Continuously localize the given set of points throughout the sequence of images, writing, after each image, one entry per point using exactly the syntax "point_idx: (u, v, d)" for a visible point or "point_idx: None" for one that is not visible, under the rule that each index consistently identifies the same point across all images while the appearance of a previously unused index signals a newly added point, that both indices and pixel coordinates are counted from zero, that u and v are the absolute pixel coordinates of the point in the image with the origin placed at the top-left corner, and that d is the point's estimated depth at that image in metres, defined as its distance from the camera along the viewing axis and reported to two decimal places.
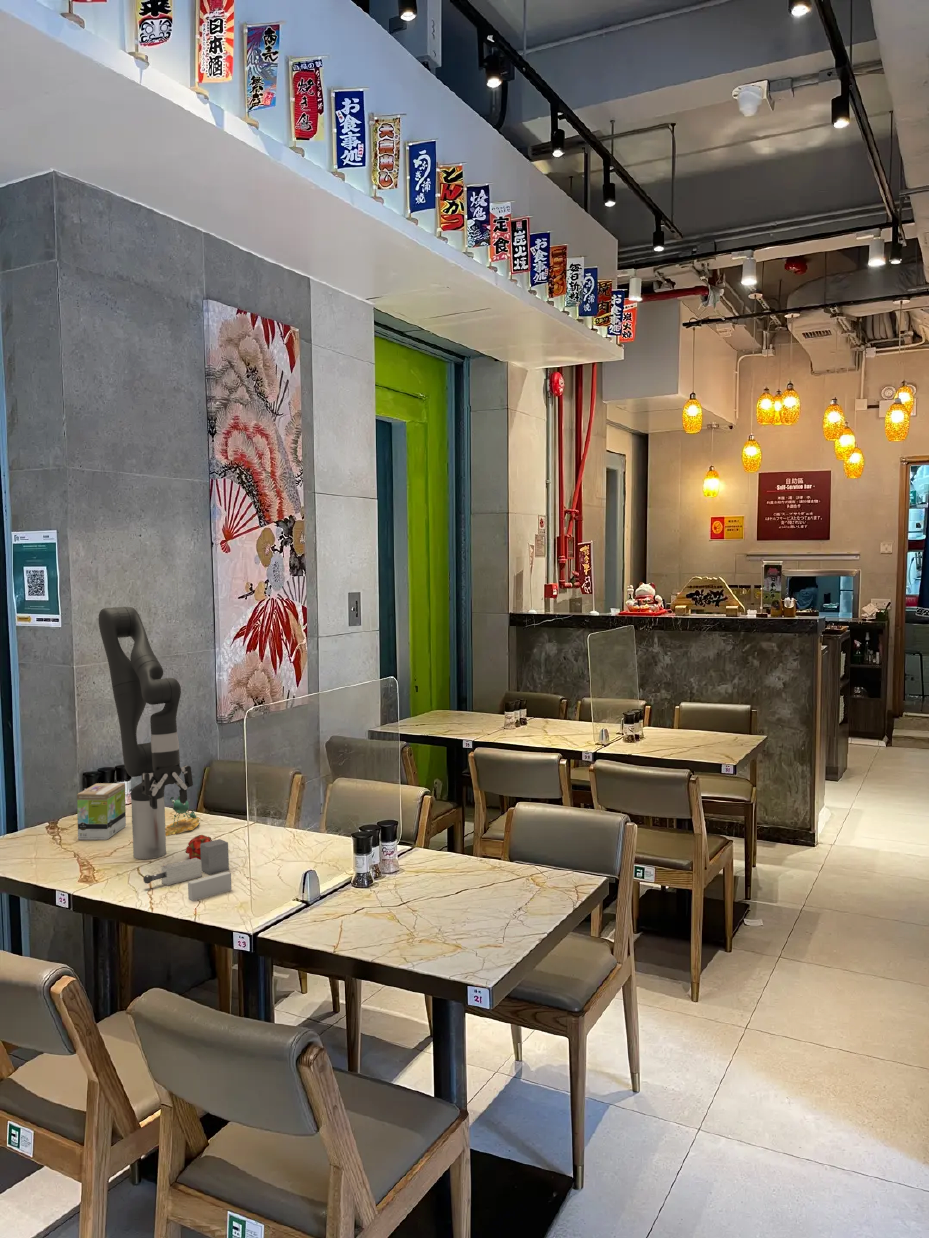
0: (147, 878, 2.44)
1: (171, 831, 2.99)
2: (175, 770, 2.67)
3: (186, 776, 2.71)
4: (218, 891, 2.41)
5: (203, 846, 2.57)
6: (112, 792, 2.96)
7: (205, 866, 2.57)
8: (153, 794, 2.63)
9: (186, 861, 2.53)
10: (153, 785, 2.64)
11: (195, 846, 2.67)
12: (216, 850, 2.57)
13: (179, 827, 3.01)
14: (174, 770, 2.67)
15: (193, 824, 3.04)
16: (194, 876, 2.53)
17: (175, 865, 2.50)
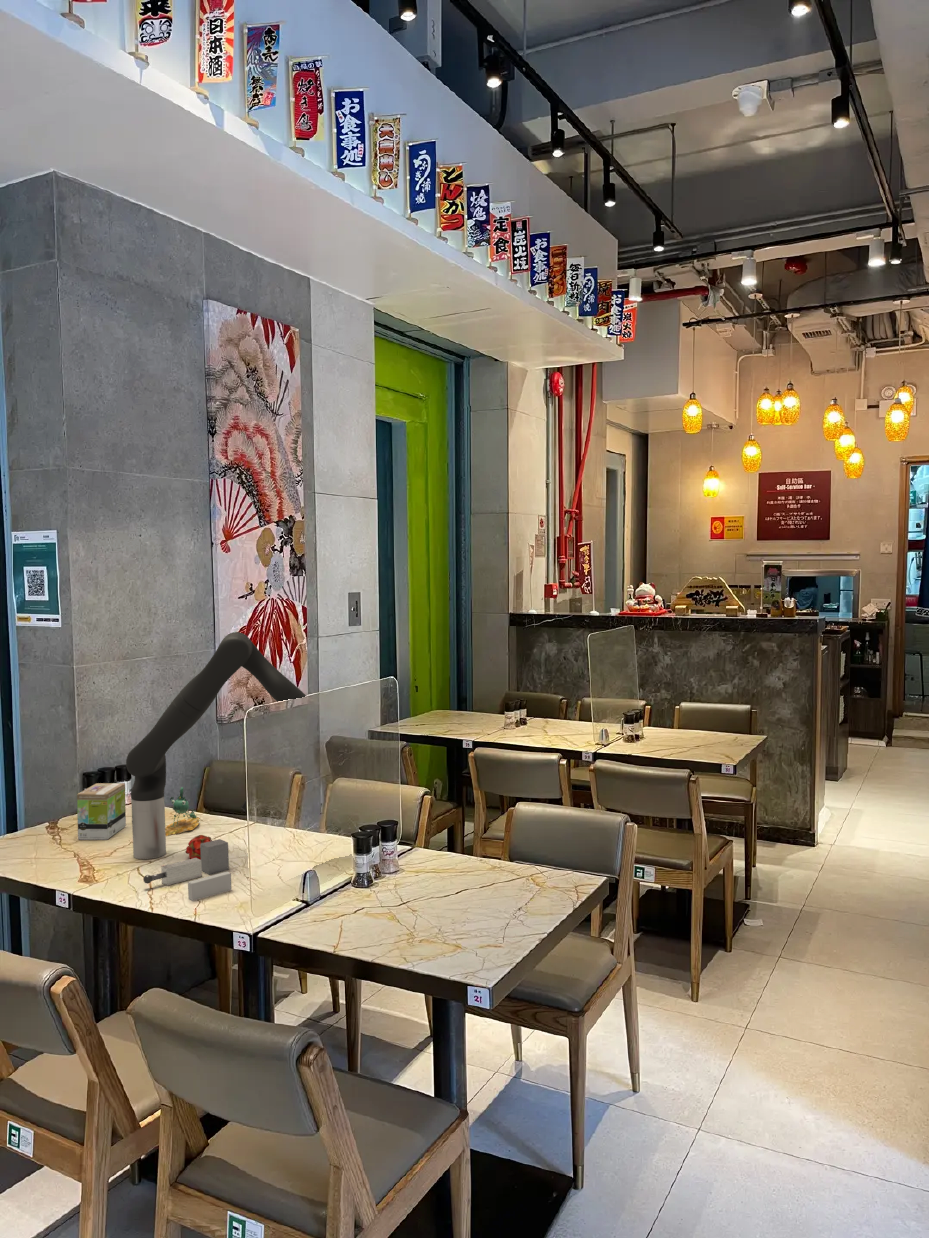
0: (147, 878, 2.44)
1: (171, 831, 2.99)
2: None
3: None
4: (218, 891, 2.41)
5: (203, 846, 2.57)
6: (112, 792, 2.96)
7: (205, 866, 2.57)
8: None
9: (186, 861, 2.53)
10: None
11: (195, 846, 2.67)
12: (216, 850, 2.57)
13: (179, 827, 3.01)
14: None
15: (193, 824, 3.04)
16: (194, 876, 2.53)
17: (175, 865, 2.50)
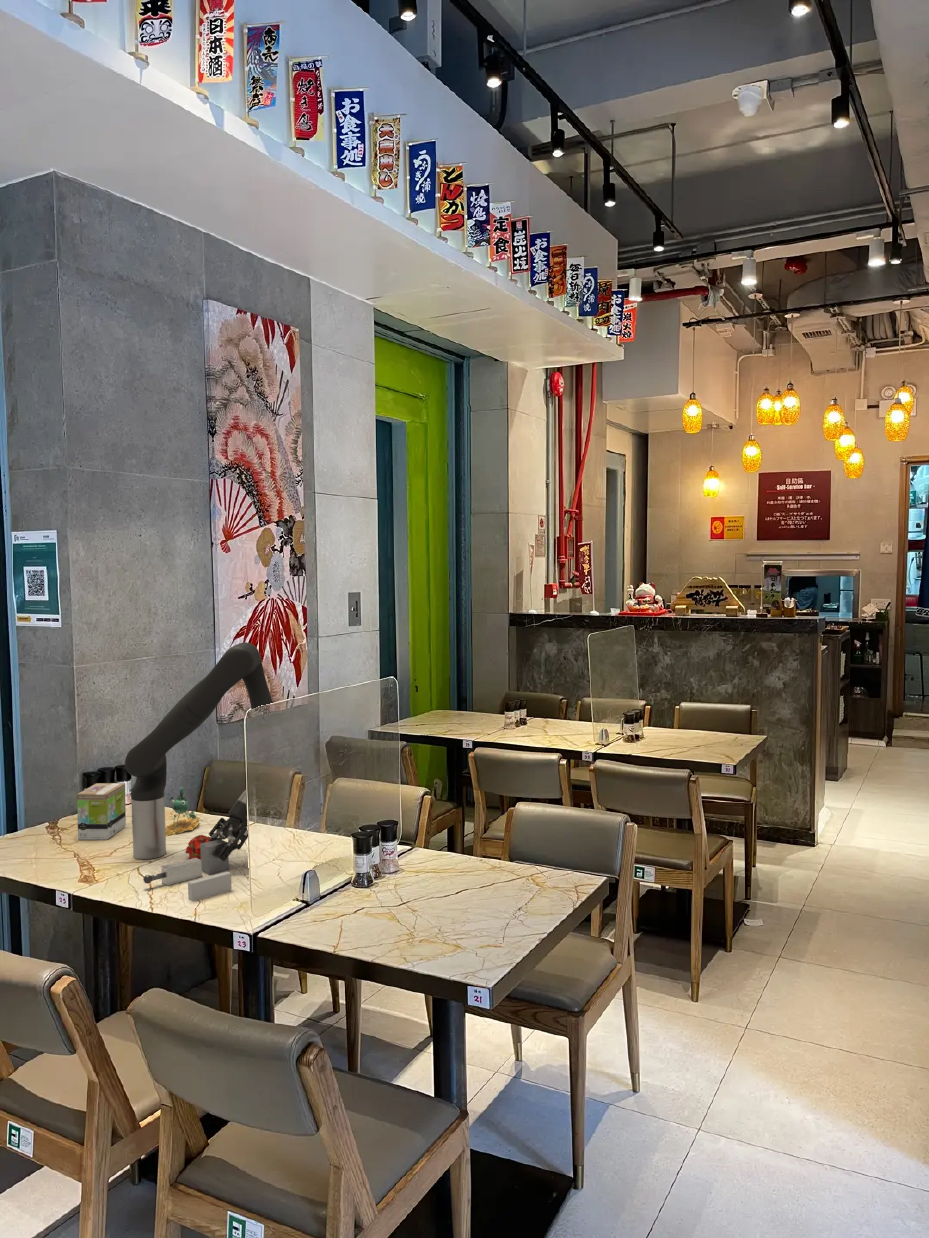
0: (147, 878, 2.44)
1: (171, 831, 2.99)
2: None
3: None
4: (218, 891, 2.41)
5: (203, 846, 2.57)
6: (112, 792, 2.96)
7: (205, 866, 2.57)
8: None
9: (186, 861, 2.53)
10: (233, 838, 2.58)
11: (195, 846, 2.67)
12: (216, 850, 2.57)
13: (179, 827, 3.01)
14: None
15: (193, 824, 3.04)
16: (194, 876, 2.53)
17: (175, 865, 2.50)
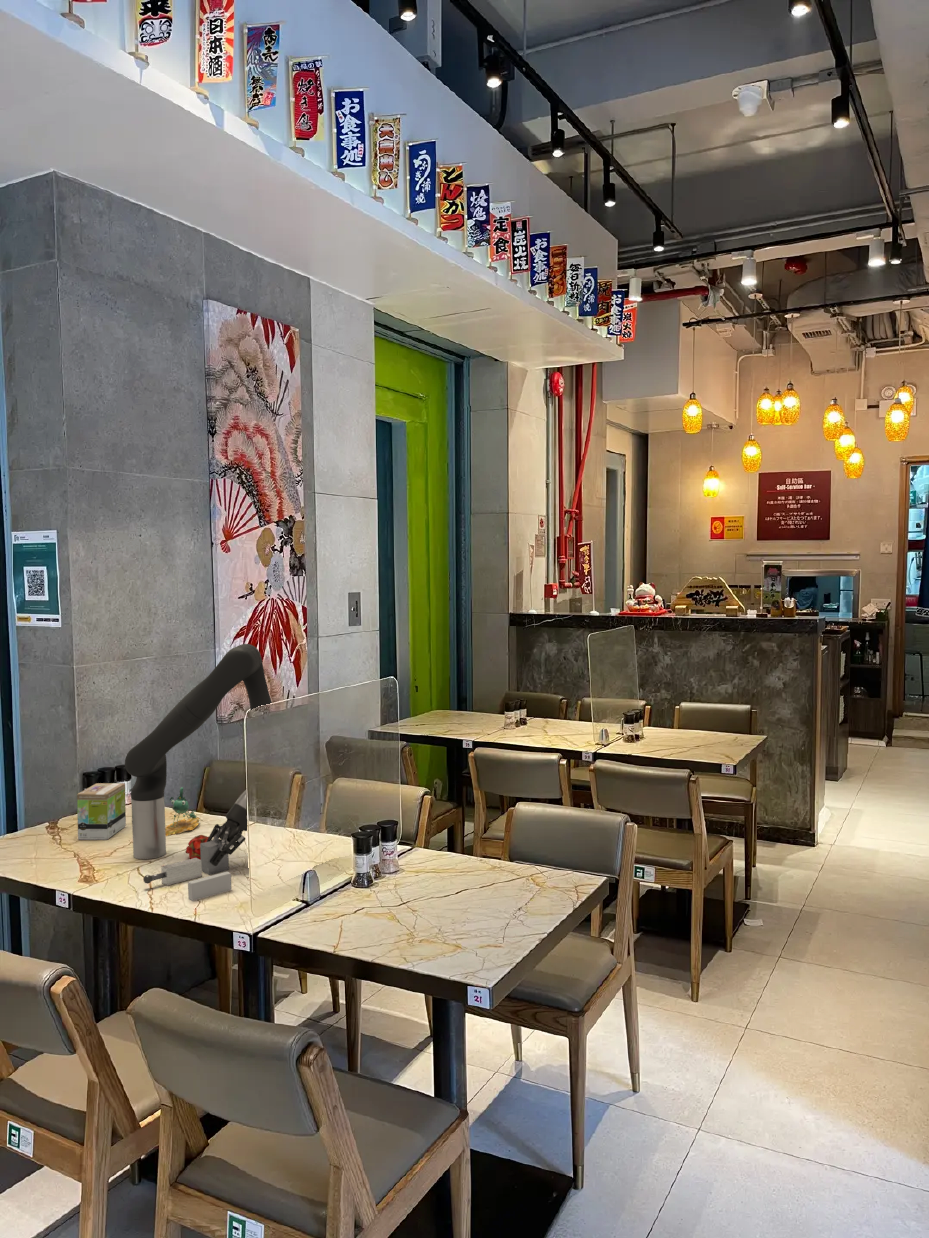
0: (147, 878, 2.44)
1: (171, 831, 2.99)
2: None
3: None
4: (218, 891, 2.41)
5: (203, 846, 2.57)
6: (112, 792, 2.96)
7: (205, 866, 2.57)
8: None
9: (186, 861, 2.53)
10: (227, 843, 2.58)
11: (195, 846, 2.67)
12: (216, 850, 2.57)
13: (179, 827, 3.01)
14: None
15: (193, 824, 3.04)
16: (194, 876, 2.53)
17: (175, 865, 2.50)
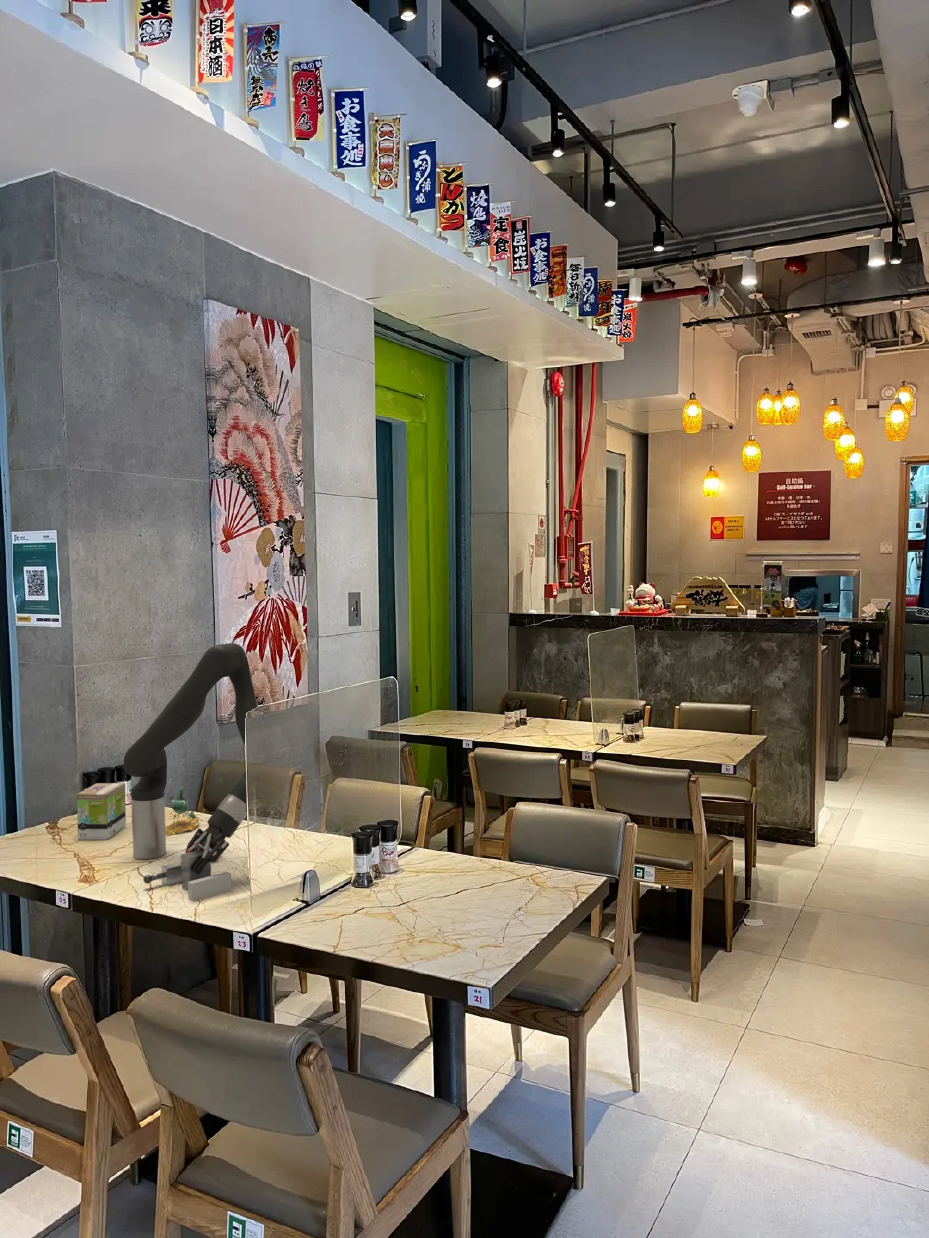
0: (147, 878, 2.44)
1: (171, 831, 2.99)
2: None
3: None
4: (218, 891, 2.41)
5: (184, 857, 2.44)
6: (112, 792, 2.96)
7: (186, 878, 2.44)
8: None
9: None
10: (210, 849, 2.45)
11: None
12: None
13: (179, 827, 3.01)
14: None
15: (193, 824, 3.04)
16: None
17: (175, 865, 2.50)
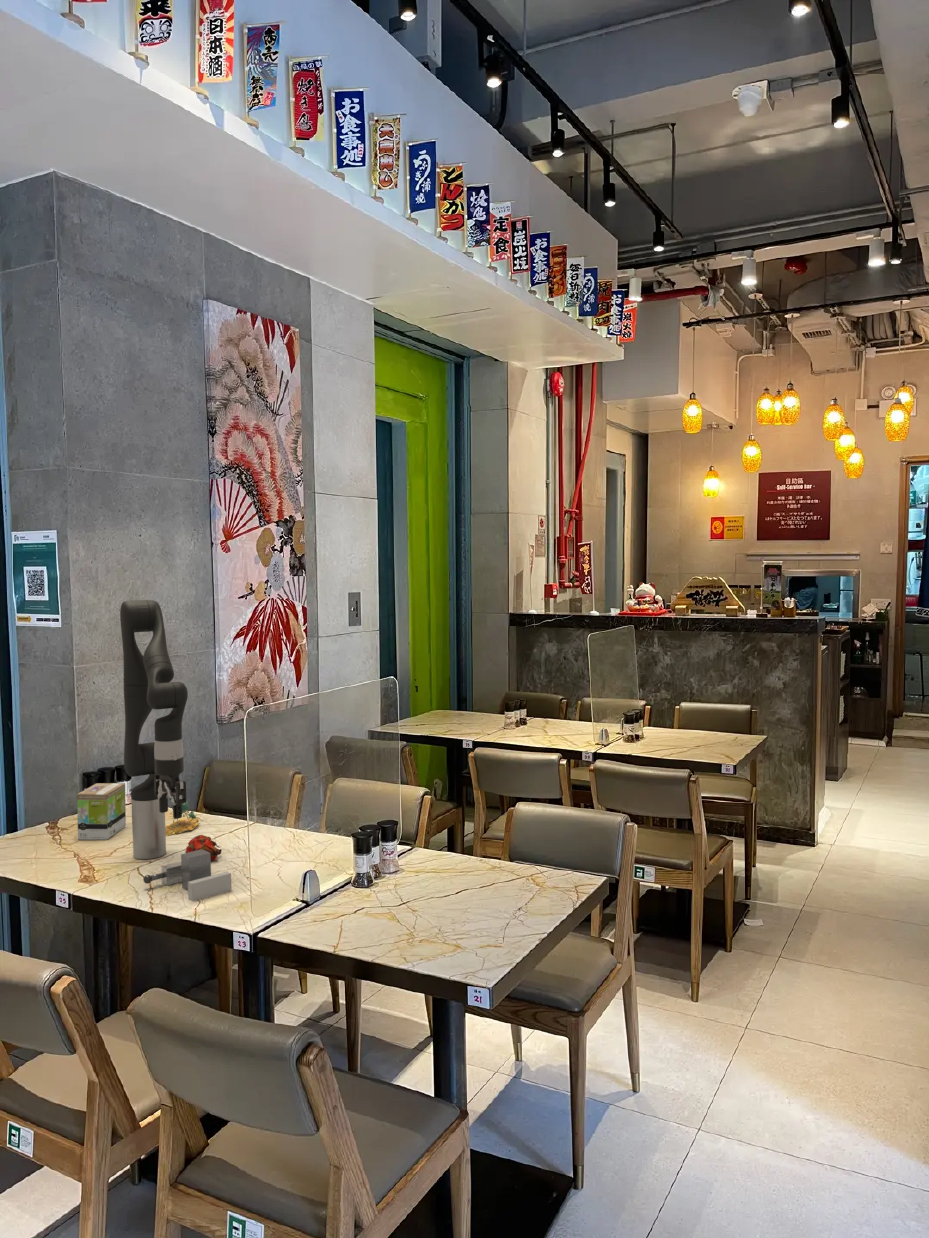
0: (147, 878, 2.44)
1: (171, 831, 2.99)
2: None
3: None
4: (218, 891, 2.41)
5: (184, 857, 2.44)
6: (112, 792, 2.96)
7: (186, 878, 2.44)
8: None
9: None
10: (175, 794, 2.52)
11: (195, 846, 2.67)
12: (198, 861, 2.44)
13: (179, 827, 3.01)
14: None
15: (193, 824, 3.04)
16: None
17: (175, 865, 2.50)
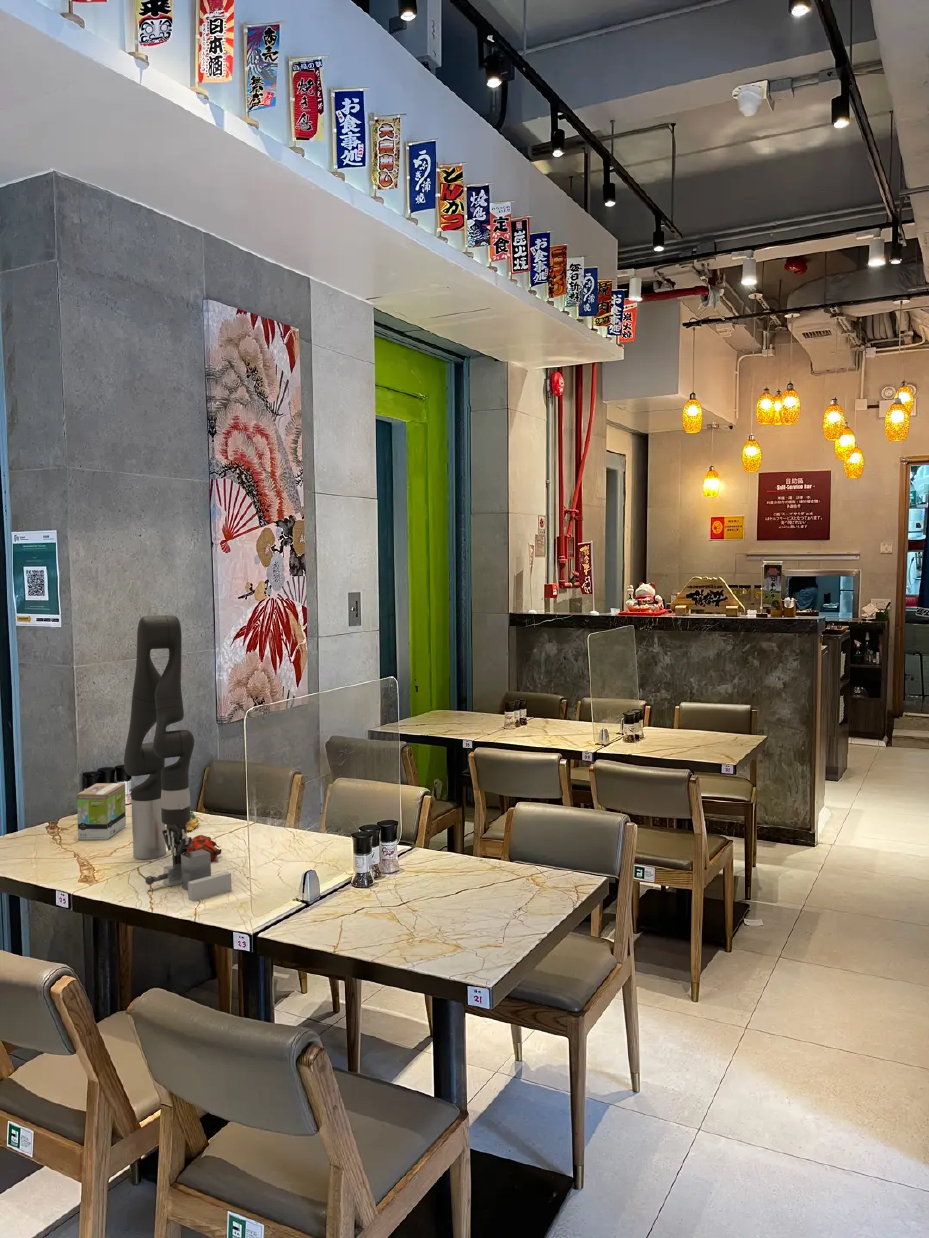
0: (149, 879, 2.44)
1: None
2: None
3: None
4: (218, 891, 2.41)
5: (184, 857, 2.44)
6: (112, 792, 2.96)
7: (186, 878, 2.44)
8: None
9: None
10: (178, 845, 2.51)
11: (195, 846, 2.67)
12: (198, 861, 2.44)
13: None
14: None
15: (192, 824, 3.04)
16: None
17: (177, 866, 2.49)
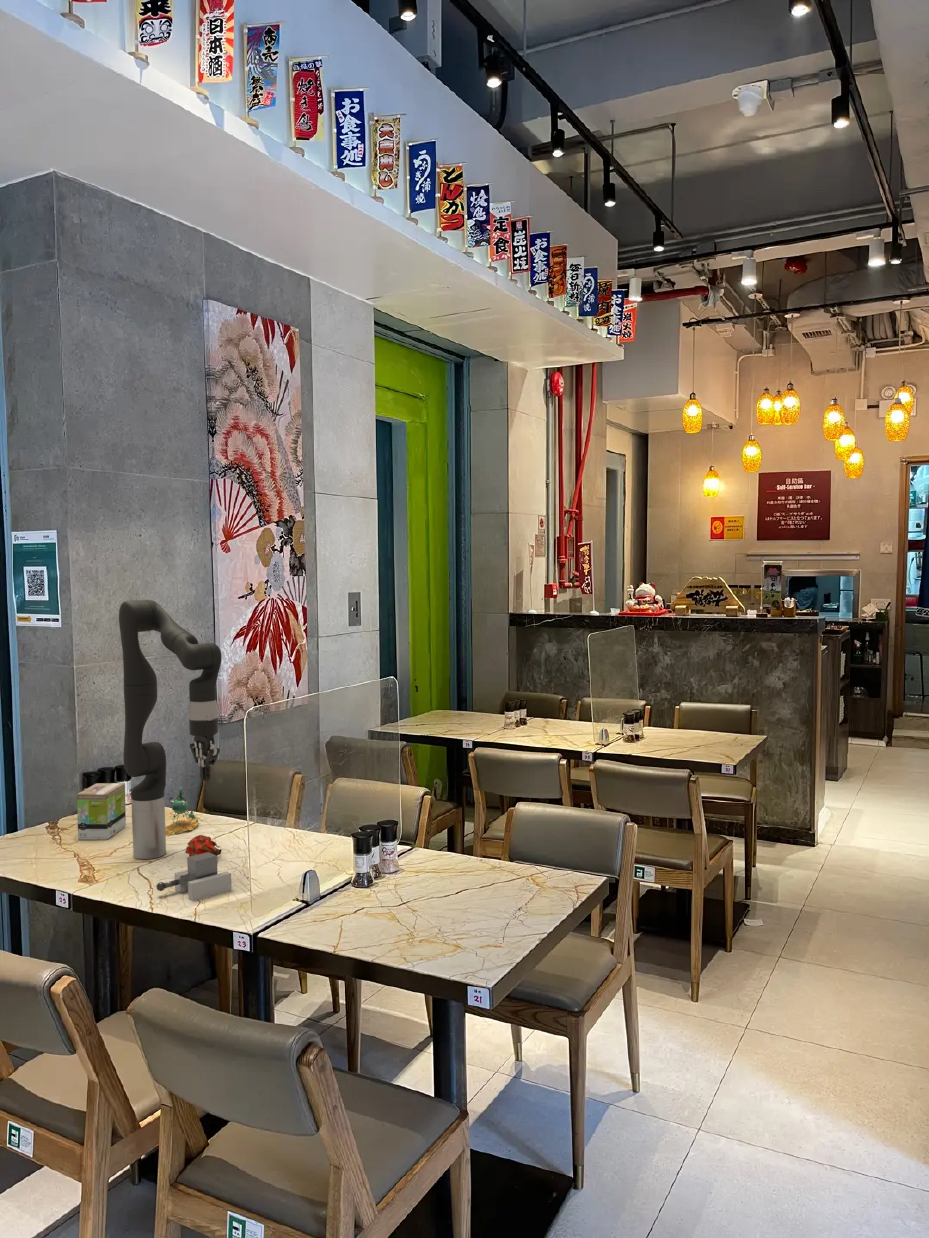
0: (160, 885, 2.39)
1: (170, 831, 2.99)
2: None
3: None
4: (218, 891, 2.41)
5: (190, 860, 2.41)
6: (112, 792, 2.96)
7: None
8: None
9: None
10: (206, 757, 2.54)
11: (195, 846, 2.67)
12: (204, 864, 2.41)
13: (178, 827, 3.01)
14: None
15: (192, 824, 3.04)
16: None
17: None
